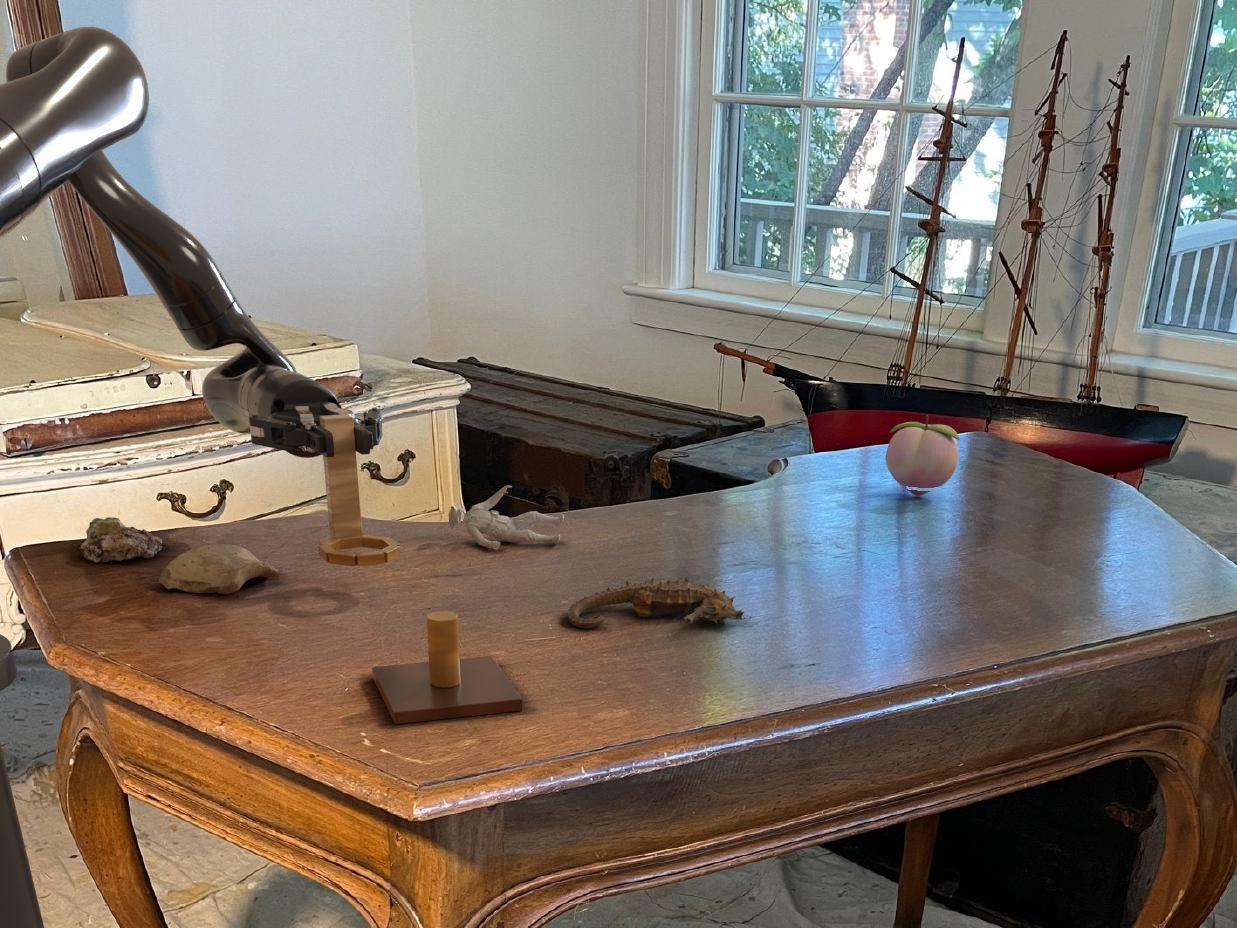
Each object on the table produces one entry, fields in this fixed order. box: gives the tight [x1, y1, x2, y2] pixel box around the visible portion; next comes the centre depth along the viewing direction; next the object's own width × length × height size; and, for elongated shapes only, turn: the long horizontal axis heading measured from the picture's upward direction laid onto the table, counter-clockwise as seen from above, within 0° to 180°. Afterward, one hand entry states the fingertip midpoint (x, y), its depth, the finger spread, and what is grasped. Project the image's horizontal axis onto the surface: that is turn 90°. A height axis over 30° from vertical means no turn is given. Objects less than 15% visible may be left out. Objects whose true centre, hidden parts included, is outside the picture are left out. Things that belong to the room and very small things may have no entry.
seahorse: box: [567, 576, 745, 629], centre depth 121 cm, size 9×16×3 cm, turn 86°
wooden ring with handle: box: [317, 414, 401, 567], centre depth 121 cm, size 9×7×12 cm
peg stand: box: [371, 610, 523, 725], centre depth 102 cm, size 10×10×6 cm
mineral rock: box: [78, 516, 163, 563], centre depth 134 cm, size 11×4×8 cm
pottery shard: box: [158, 543, 279, 595], centre depth 126 cm, size 11×4×10 cm
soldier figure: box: [448, 485, 565, 551], centre depth 142 cm, size 8×5×12 cm
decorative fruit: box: [885, 414, 961, 497], centre depth 165 cm, size 9×8×10 cm
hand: (348, 444), depth 120 cm, fingers closed on wooden ring with handle, 3 cm apart
